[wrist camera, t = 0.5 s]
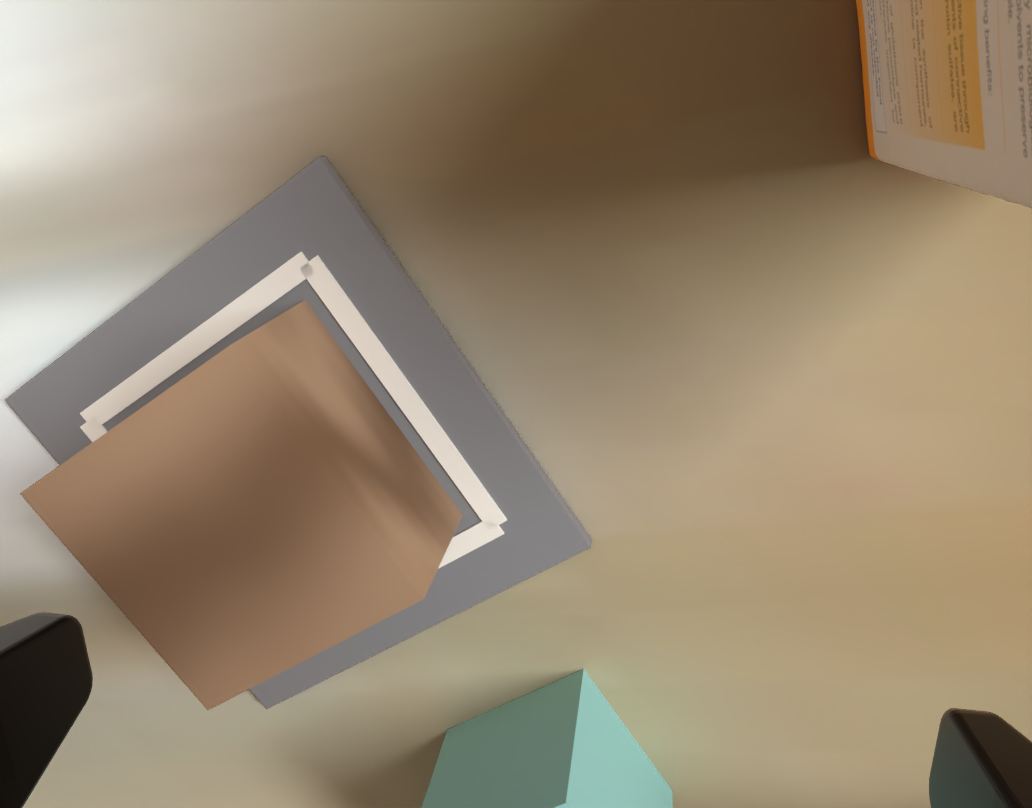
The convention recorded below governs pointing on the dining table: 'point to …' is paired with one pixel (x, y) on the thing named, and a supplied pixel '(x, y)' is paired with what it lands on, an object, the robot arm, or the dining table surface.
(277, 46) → the dining table surface
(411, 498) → the walnut block
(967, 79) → the supplement box
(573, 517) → the mat
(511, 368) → the dining table surface
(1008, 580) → the dining table surface
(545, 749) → the teal cube
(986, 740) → the robot arm
